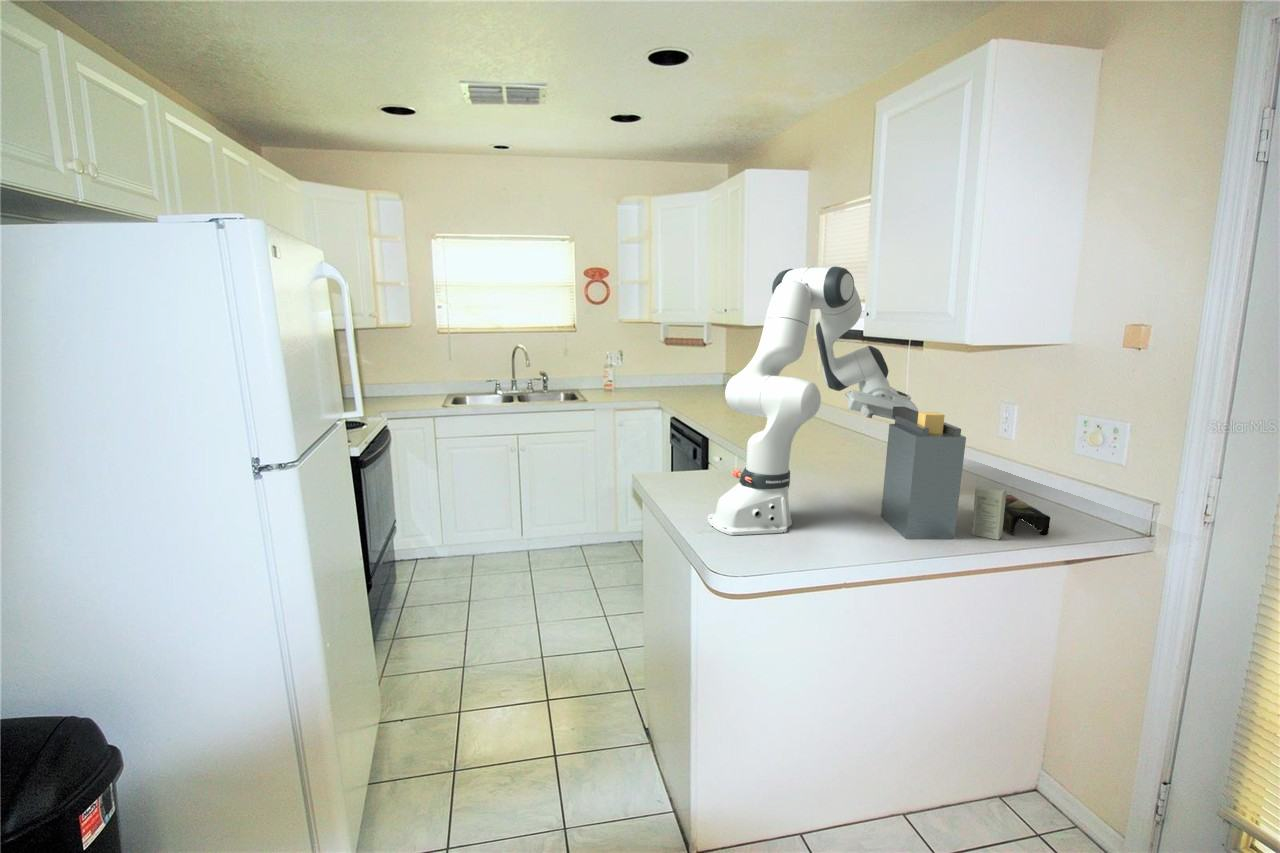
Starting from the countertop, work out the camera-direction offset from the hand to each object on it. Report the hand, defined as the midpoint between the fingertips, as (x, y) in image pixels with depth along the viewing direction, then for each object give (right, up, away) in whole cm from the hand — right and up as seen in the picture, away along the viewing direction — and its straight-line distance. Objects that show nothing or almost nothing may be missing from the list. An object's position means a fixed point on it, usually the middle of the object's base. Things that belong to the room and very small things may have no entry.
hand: (886, 419), depth 174 cm
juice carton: (+29, -28, -10) cm, 42 cm away
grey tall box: (+2, -28, -14) cm, 32 cm away
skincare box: (+17, -30, -19) cm, 39 cm away
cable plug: (+2, -1, -13) cm, 13 cm away
